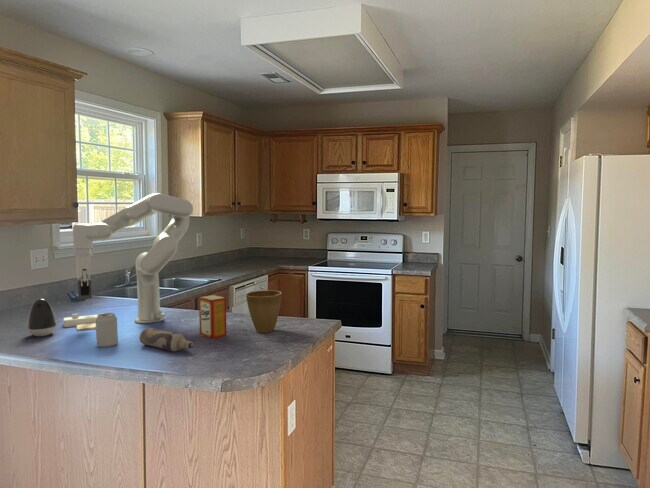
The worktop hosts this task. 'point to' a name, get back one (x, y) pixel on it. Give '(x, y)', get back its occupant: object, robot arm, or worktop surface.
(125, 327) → the worktop surface
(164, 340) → the decorative bottle
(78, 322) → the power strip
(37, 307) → the dark egg-shaped diffuser
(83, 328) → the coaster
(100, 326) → the can
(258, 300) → the plant pot
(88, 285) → the charger
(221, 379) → the worktop surface
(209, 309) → the baking soda box
